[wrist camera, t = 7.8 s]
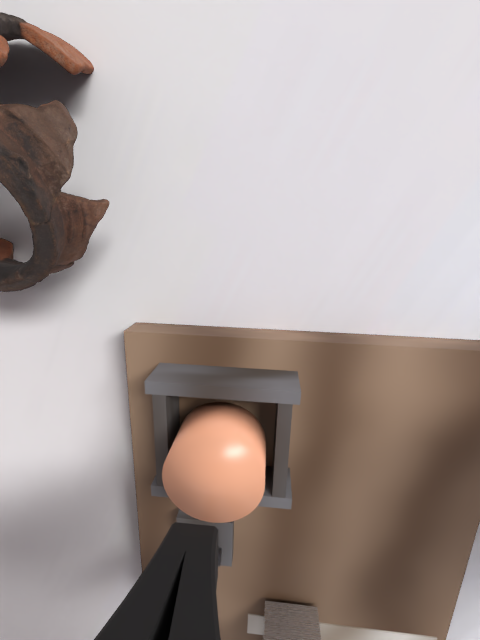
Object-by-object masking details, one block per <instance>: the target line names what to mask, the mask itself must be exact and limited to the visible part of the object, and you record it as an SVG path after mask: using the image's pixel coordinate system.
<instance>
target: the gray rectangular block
mask: <svg viewBox="0 0 480 640" xmlns="http://www.w3.org/2000/svg"><path fill="white" fill-rule="evenodd" d="M263 640H321V634H320V625H319V617H318V609H317V607H313V606H305V605H297V604H289V603H280V602H272V601H265V610H264V626H263Z"/></svg>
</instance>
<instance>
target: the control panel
mask: <svg viewBox="0 0 480 640" xmlns="http://www.w3.org/2000/svg"><path fill="white" fill-rule="evenodd" d="M124 342H125V355H126V368H127V381H128V394H129V407H130V420H131V433H132V446H133V459H134V472H135V485H136V498H137V511H138V524H139V537H140V550H141V563H142V573H143V571H144V570H145V568H146V567H147V565H148V564H149V562H150V560H151V559H152V557H153V556H154V554H155V553H156V551H157V549H158V548H159V546H160V544H161V543H162V541H163V539H164V538H165V536H166V534H167V532H168V531H169V529H170V527H171V525H172V524H173V523H175V522H179V523H189V524H199V525H209V526H215V527H216V528H217V529H218V547H219V548H222V558H221V565H220V567H218V579H217V589H216V596H217V609H218V620H219V629H220V638H221V640H263V626H264V610H265V601H272V602H280V603H289V604H297V605H305V606H313V607H317V609H318V617H319V625H320V634H321V640H446V637H447V633H448V630H449V626H450V623H451V619H452V616H453V612H454V609H455V605H456V602H457V598H458V595H459V591H460V588H461V584H462V581H463V577H464V574H465V570H466V567H467V563H468V560H469V556H470V553H471V549H472V546H473V543H474V539H475V536H476V532H477V529H478V525H479V522H480V340H463V339H444V338H424V337H405V336H386V335H367V334H348V333H328V332H309V331H290V330H271V329H251V328H232V327H213V326H194V325H174V324H155V323H135V324H133V325H132V326H131V327H129V328H128V329H126V330H125V331H124ZM210 402H228V403H233V404H236V405H238V406H241V407H243V408H245V409H246V410H248V411H249V412H250V413H252V414H253V415H254V416H255V417H256V418H257V419H258V421H259V422H260V424H261V425H262V427H263V429H264V432H265V437H266V466H265V490H264V494H263V497H262V499H261V501H260V503H259V504H258V506H257V507H256V508H255V509H254V510H253V511H252V512H251V513H250V514H248V515H247V516H245V517H243V518H241V519H238V520H235V521H232V522H226V523H212V522H206V521H202V520H199V519H196V518H193V517H191V516H189V515H188V514H186V513H184V512H183V511H182V510H180V509H179V508H178V507H177V506H176V505H175V504H174V503H173V502H172V501H171V499H170V498H169V496H168V495H167V493H166V491H165V489H164V485H163V481H162V469H163V465H164V462H165V460H166V457H167V455H168V453H169V451H170V449H171V447H172V444H173V442H174V440H175V438H176V436H177V433H178V431H179V429H180V427H181V425H182V423H183V421H184V419H185V418H186V416H187V415H188V414H189V413H190V412H191V411H192V410H194V409H195V408H197V407H199V406H200V405H203V404H206V403H210Z"/></svg>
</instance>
